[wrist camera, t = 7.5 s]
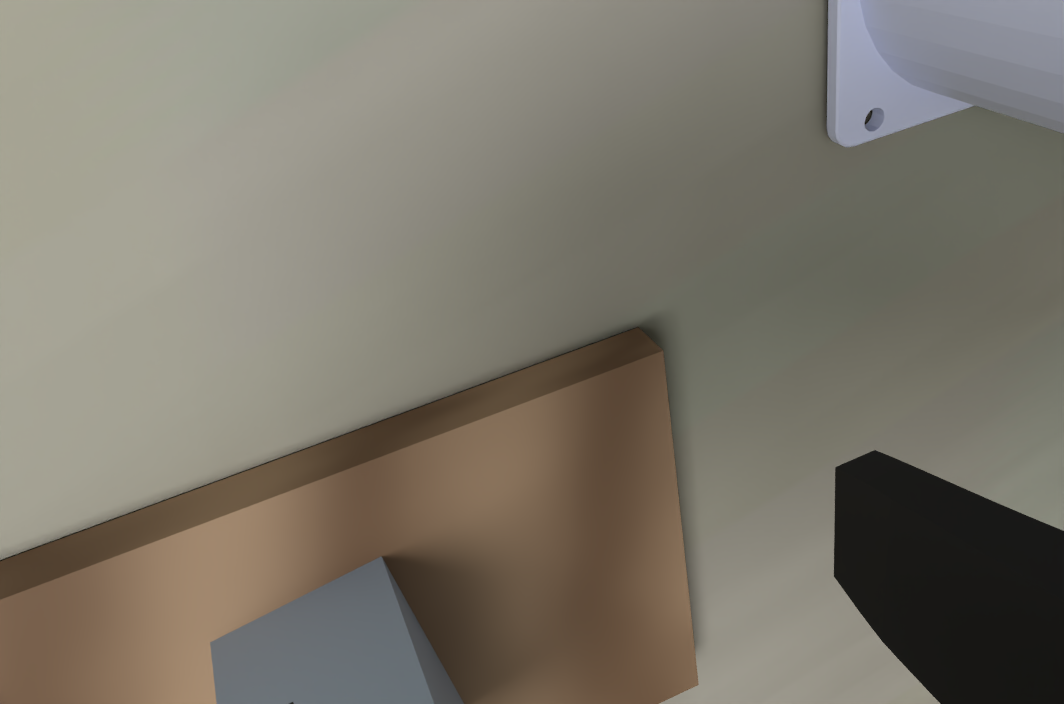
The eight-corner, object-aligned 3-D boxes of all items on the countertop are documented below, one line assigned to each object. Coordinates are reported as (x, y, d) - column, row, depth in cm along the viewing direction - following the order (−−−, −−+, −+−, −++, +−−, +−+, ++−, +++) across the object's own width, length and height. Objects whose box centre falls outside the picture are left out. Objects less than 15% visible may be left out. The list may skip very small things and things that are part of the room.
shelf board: (638, 327, 21) (662, 350, 20) (678, 654, 28) (698, 684, 27) (-93, 595, 18) (-105, 638, 17) (151, 899, 24) (152, 943, 23)
